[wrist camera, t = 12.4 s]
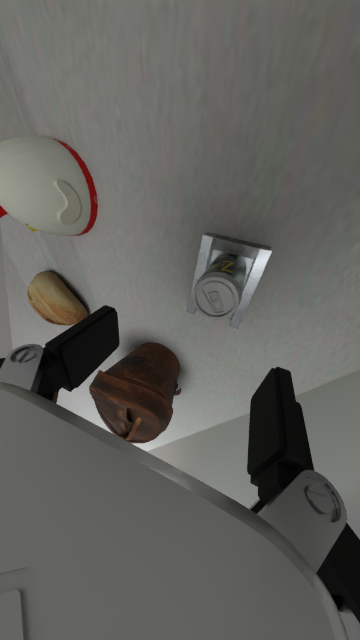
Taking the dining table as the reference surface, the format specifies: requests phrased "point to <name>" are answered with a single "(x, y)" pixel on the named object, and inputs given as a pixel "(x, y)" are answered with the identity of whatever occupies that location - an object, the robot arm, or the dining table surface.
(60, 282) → the bread roll
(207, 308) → the beer can
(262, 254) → the grey tray
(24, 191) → the kitchen timer
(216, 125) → the dining table surface
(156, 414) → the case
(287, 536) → the robot arm
